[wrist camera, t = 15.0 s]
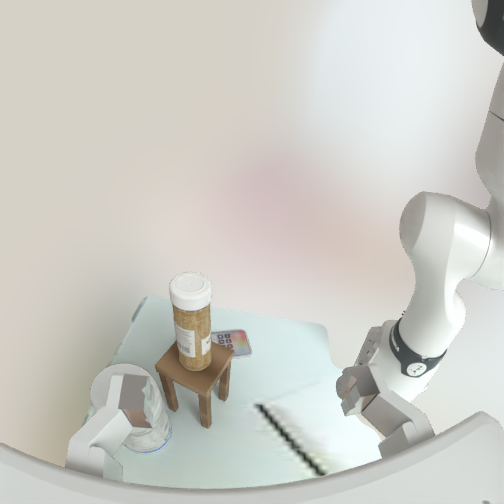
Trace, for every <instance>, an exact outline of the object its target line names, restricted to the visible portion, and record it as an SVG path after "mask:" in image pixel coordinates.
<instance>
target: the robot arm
mask: <svg viewBox="0 0 504 504" xmlns="http://www.w3.org/2000/svg"><path fill="white" fill-rule="evenodd" d="M472 8H473V12H474V15H475V18H476V25H477V28H478V30H479V32H480V34H481V36H482V37H483V39H484V41H485V42H487V43H488V44H489V45H490V46H491V47H493V48H494V49H495V50H496V51H498V52H499V53H500V54H502V55H503V56H504V0H472ZM475 159H476V168H477V172H478V174H479V176H480V178H481V180H482V182H483V183H484V185H485V187H486V188H487V189H488V191H489V192H490V194H491V195H492V196H491V201H490V204H489V206H488V207H487V209H485V210H483V209H480V208H477V207H475V206H473V205H471V204H469V203H466V202H464V201H462V200H459V199H457V198H455V197H452V196H450V195H444V194H439V193H431V192H420V193H419V194H417V195H415V196H414V197H413V198H412V199H411V200H410V201H409V202H408V204H407V205H406V207H405V208H404V210H403V213H402V216H401V219H400V228H399V229H400V239H401V243H402V245H403V248H404V250H405V252H406V253H407V255H408V256H409V258H410V260H411V262H412V264H413V267H414V270H415V276H416V285H415V290H414V294H413V296H412V298H411V301H410V303H409V305H408V308H407V310H406V311H404V312H405V313H404V314H402V315H403V317H402V318H400V319H399V320H388V321H386V322H384V324H383V325H382V327H372V328H371V329H370V330H369V332H368V335H367V337H366V340H365V342H364V344H363V346H362V349H361V351H360V353H359V356H358V358H357V360H356V362H355V364H354V366H353V367H348V368H345V369H344V370H343V372H342V373H343V375H342V376H341V377H339V378H338V380H337V382H336V391H337V395H338V397H340V398H341V399H342V403H341V406H342V409H343V412H344V415H345V416H349V415H354V414H359V413H361V414H362V416H364V417H365V418H366V419H367V420H368V421H369V422H370V423H371V424H372V425H373V426H374V427H375V428H376V429H377V430H378V431H379V432H381V433H382V434H383V435H384V436H385V437H386V438H385V439H384V440H383V441H382V442H380V443H379V445H378V447H379V450H380V453H381V456H382V459H379V460H376V461H373V462H370V463H367V464H364V465H361V466H358V467H355V468H351V469H348V470H344V471H340V472H337V473H333V474H329V475H324V476H320V477H316V478H311V479H306V480H300V481H295V482H289V483H282V484H275V485H267V486H258V487H246V488H229V489H186V488H170V487H158V486H149V485H141V484H134V483H128V482H122V471H123V466H122V465H121V464H120V463H119V462H118V461H116V460H115V459H114V458H113V457H112V456H113V455H114V453H115V452H116V451H117V449H118V448H119V447H120V445H121V444H122V443H123V441H124V440H125V439H126V437H127V436H128V435H129V433H130V432H131V431H132V429H133V427H139V428H152V429H153V416H154V415H153V412H152V410H151V409H152V408H153V406H154V402H155V394H154V388H153V385H151V379H150V376H146V375H134V374H126V373H116V372H113V374H112V376H111V380H110V385H109V390H108V395H107V400H106V406H105V407H104V406H102V407H101V408H100V409H99V410H98V411H97V412H96V413H95V414H94V415H93V416H92V417H91V418H90V419H89V420H88V421H87V422H86V423H85V424H84V425H83V426H82V427H81V428H80V429H79V430H78V432H77V433H76V434H75V435H74V436H73V437H72V438H71V439H70V440H69V446H68V452H67V459H66V465H65V468H64V467H61V466H58V465H55V464H52V463H49V462H46V461H44V460H41V459H38V458H36V457H33V456H31V455H28V454H26V453H24V452H21V451H19V450H17V449H14V448H12V447H10V446H8V445H6V444H4V443H0V504H504V430H503V428H502V426H501V424H500V423H499V422H498V421H497V420H496V419H495V418H493V417H492V416H490V415H488V414H487V413H485V412H482V411H479V412H477V413H475V414H473V415H472V416H470V417H468V418H467V419H465V420H463V421H462V422H460V423H458V424H456V425H454V426H453V427H451V428H449V429H447V430H445V431H444V432H441V433H440V434H438V435H436V436H435V433H434V431H433V429H432V427H431V424H430V422H429V420H428V418H427V416H426V414H425V413H423V412H422V411H420V410H419V409H418V408H416V407H415V406H413V405H412V404H411V403H409V402H411V401H412V400H413V399H414V398H415V397H416V396H417V394H419V393H421V392H423V391H425V390H426V389H427V387H428V381H429V380H430V378H431V377H432V375H433V374H434V373H435V371H436V370H437V368H438V366H439V364H438V363H439V362H440V361H441V360H442V359H443V357H444V355H445V353H446V351H447V348H448V346H449V345H450V344H451V342H452V341H453V340H454V338H455V337H456V335H457V334H458V332H459V331H460V329H461V328H462V327H463V325H464V322H465V318H466V308H465V304H464V301H463V300H462V298H461V296H460V295H459V293H458V292H457V290H456V286H457V284H458V283H459V282H460V280H462V279H466V280H469V281H471V282H474V283H477V284H479V285H482V286H485V287H487V288H490V289H493V290H501V291H504V63H503V66H502V68H501V71H500V74H499V77H498V80H497V83H496V86H495V89H494V93H493V96H492V100H491V103H490V107H489V111H488V115H487V119H486V122H485V126H484V129H483V132H482V136H481V139H480V142H479V145H478V148H477V151H476V158H475ZM359 364H360V365H359Z"/></svg>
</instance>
